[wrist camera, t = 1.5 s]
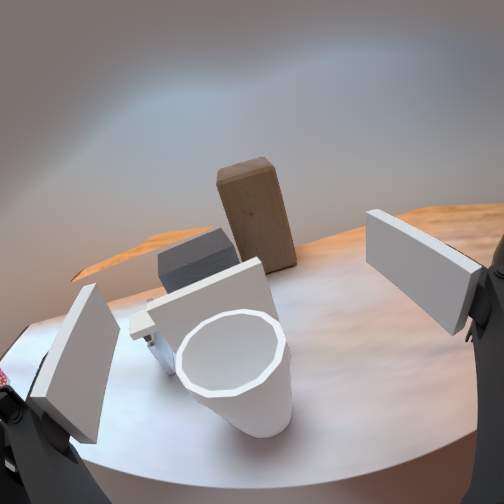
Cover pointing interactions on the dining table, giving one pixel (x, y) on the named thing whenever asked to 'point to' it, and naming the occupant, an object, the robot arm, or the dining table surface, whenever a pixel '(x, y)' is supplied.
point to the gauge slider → (205, 303)
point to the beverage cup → (3, 379)
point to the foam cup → (240, 370)
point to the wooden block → (257, 213)
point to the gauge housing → (190, 276)
